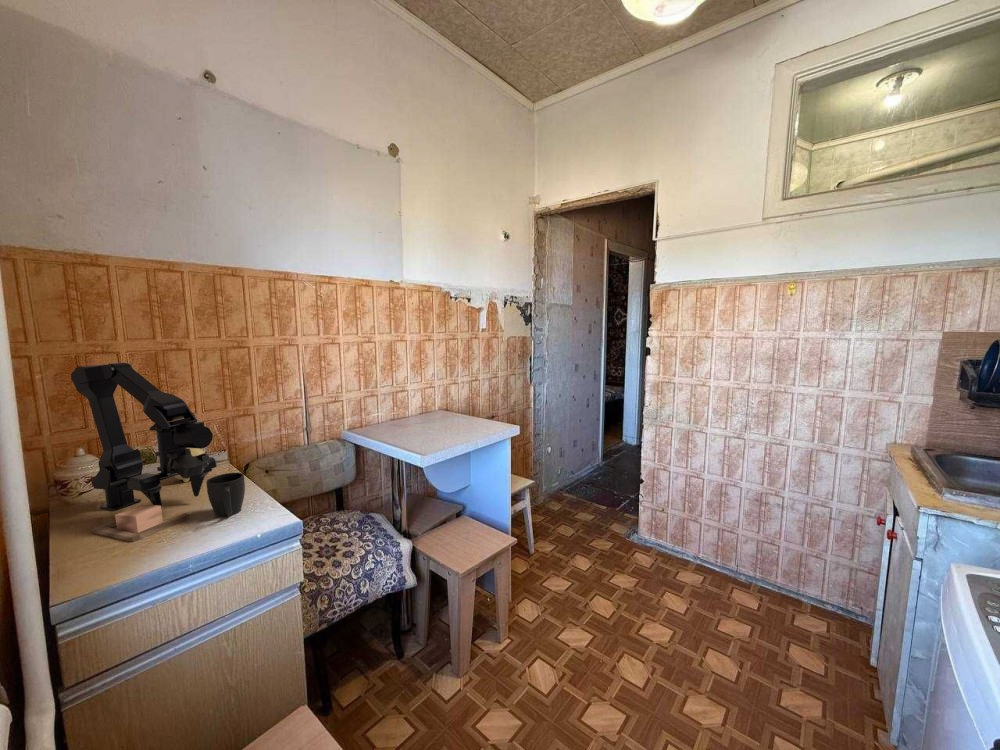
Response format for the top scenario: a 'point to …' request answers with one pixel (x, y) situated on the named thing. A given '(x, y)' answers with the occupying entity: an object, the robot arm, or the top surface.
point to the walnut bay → (108, 531)
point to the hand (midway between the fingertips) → (178, 503)
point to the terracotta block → (139, 518)
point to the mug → (226, 493)
